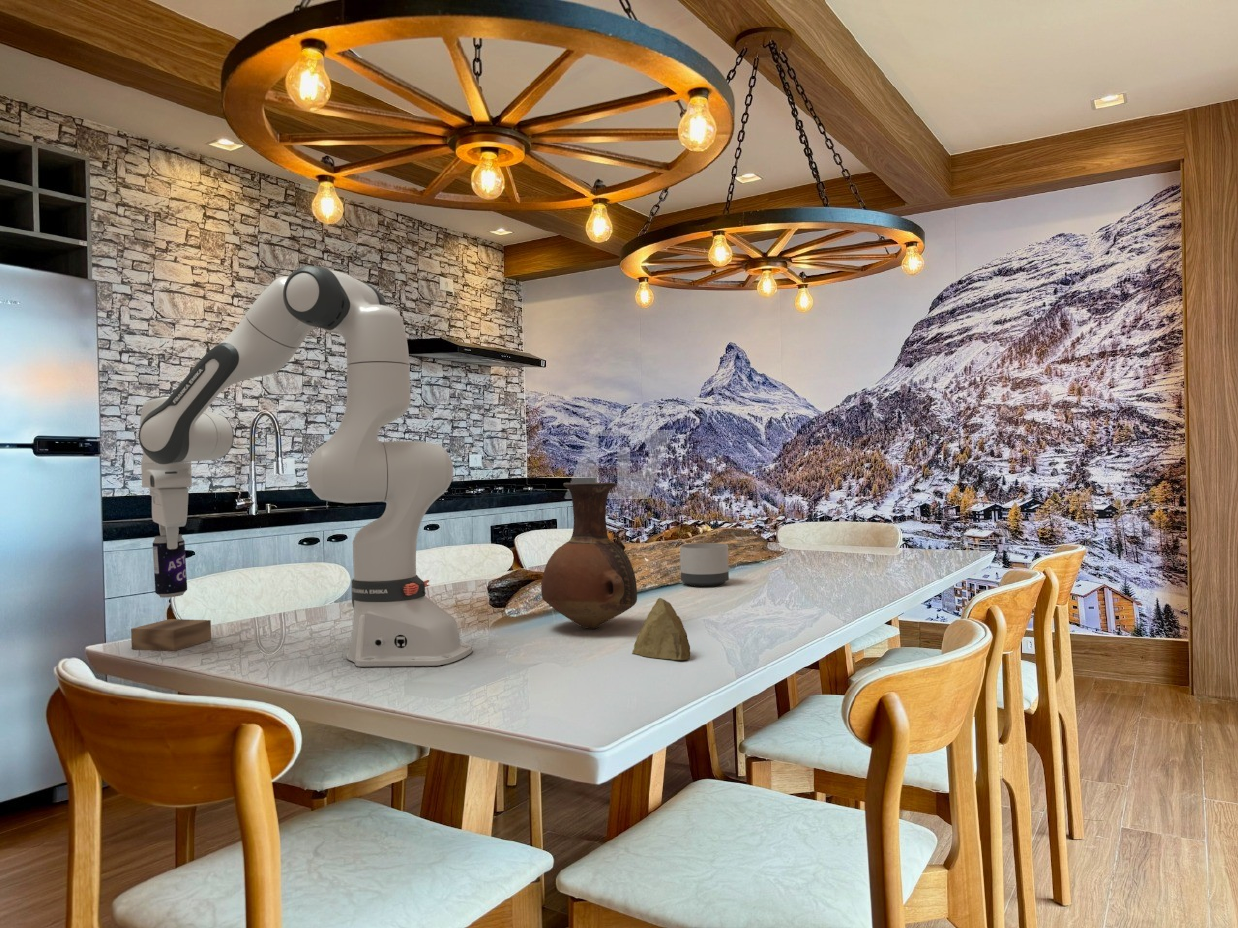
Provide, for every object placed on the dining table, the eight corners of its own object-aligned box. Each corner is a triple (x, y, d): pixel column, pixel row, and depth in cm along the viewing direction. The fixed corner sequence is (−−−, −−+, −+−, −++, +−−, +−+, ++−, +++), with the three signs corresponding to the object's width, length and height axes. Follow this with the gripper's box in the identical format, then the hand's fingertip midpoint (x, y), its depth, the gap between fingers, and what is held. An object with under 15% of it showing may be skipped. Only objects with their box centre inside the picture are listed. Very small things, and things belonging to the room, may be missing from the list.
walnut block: (211, 639, 178) (210, 620, 177) (174, 650, 168) (173, 630, 168) (170, 638, 180) (169, 618, 180) (131, 649, 170) (131, 628, 170)
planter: (678, 588, 229) (677, 548, 229) (683, 580, 242) (682, 543, 241) (727, 588, 227) (726, 548, 227) (729, 580, 239) (728, 542, 239)
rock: (708, 646, 149) (688, 628, 159) (680, 610, 147) (662, 593, 156) (659, 688, 148) (642, 666, 157) (630, 651, 145) (615, 632, 155)
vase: (665, 629, 175) (661, 480, 175) (582, 644, 164) (577, 485, 164) (597, 613, 196) (593, 479, 195) (518, 625, 184) (515, 483, 184)
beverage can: (169, 598, 170) (165, 537, 170) (149, 597, 173) (145, 537, 172) (193, 593, 176) (190, 534, 175) (173, 592, 178) (170, 533, 177)
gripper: (142, 477, 180) (145, 544, 181) (155, 479, 163) (158, 553, 164) (176, 476, 184) (178, 542, 184) (192, 478, 167) (195, 550, 167)
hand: (169, 547), depth 174 cm, fingers closed on beverage can, 6 cm apart
